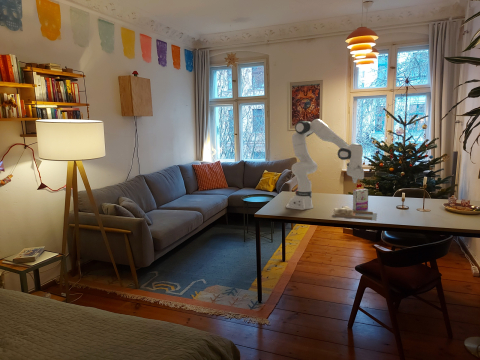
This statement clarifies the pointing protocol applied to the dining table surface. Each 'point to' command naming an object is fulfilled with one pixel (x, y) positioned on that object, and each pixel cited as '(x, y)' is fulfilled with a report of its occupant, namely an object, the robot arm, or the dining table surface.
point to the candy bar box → (360, 199)
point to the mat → (359, 215)
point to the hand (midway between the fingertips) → (354, 183)
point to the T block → (343, 210)
